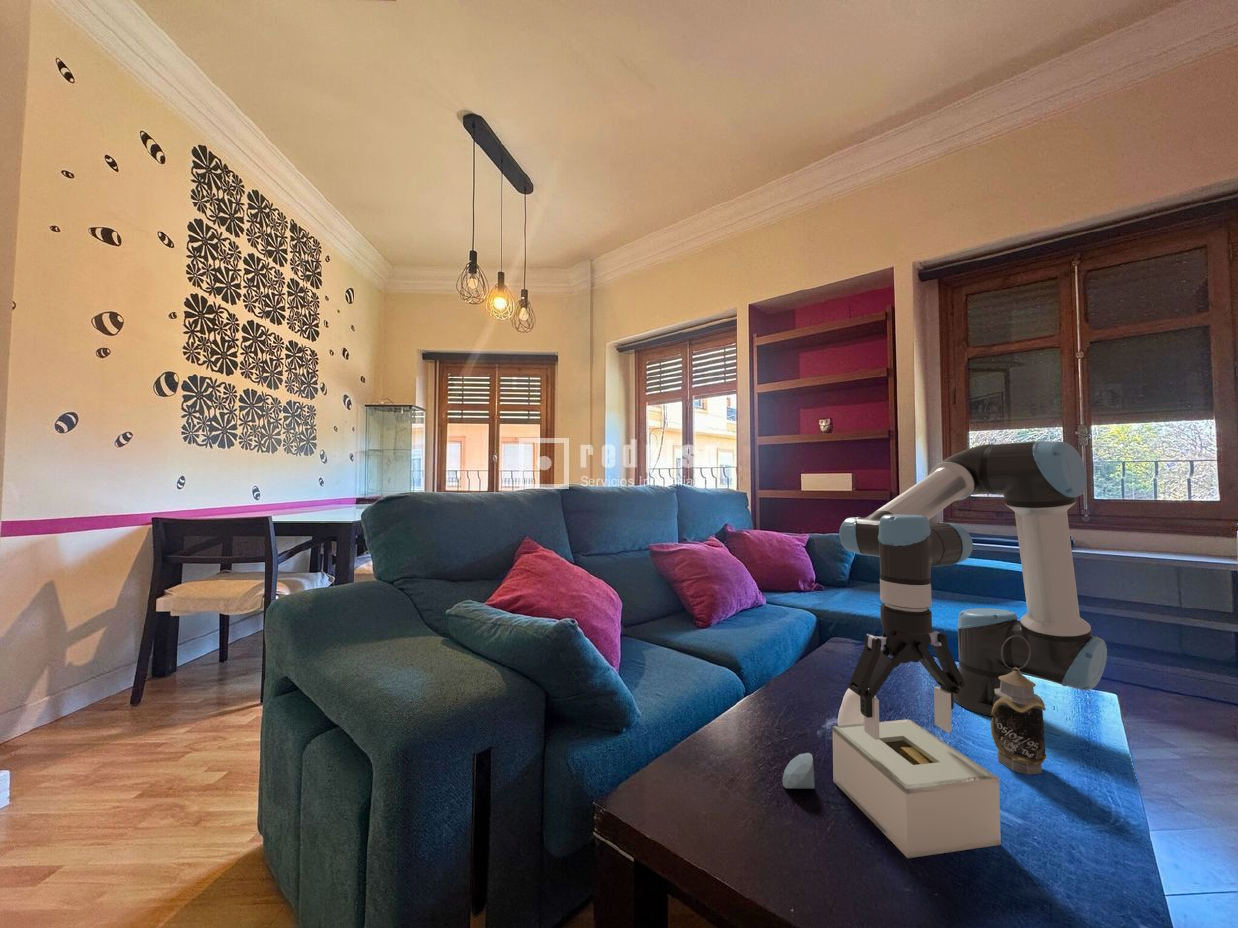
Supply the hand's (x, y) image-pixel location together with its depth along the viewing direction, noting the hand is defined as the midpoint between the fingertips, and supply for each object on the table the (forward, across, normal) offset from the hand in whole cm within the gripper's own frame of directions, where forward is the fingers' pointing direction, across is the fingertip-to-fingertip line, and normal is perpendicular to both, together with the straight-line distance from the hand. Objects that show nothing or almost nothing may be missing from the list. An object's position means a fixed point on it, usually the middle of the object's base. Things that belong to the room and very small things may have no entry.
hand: (907, 731), depth 80 cm
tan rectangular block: (+12, 0, 0) cm, 12 cm away
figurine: (+13, -5, -20) cm, 24 cm away
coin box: (+13, 0, 0) cm, 13 cm away
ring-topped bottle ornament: (+13, -31, -8) cm, 35 cm away
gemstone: (+13, +15, -9) cm, 22 cm away
